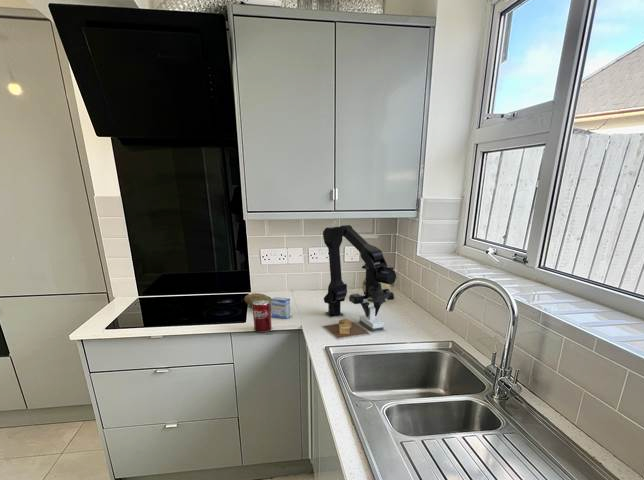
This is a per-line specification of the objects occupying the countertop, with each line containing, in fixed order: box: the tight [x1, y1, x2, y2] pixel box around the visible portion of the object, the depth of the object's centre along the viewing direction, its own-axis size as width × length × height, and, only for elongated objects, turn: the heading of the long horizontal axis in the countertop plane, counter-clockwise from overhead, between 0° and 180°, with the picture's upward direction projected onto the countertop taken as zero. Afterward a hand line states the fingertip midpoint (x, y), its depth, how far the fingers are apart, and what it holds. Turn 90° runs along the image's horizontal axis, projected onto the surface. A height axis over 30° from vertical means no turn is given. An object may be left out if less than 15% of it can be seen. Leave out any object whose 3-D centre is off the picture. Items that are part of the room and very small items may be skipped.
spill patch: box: [323, 321, 370, 339], centre depth 171 cm, size 16×14×1 cm
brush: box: [358, 306, 385, 332], centre depth 173 cm, size 13×5×8 cm, turn 23°
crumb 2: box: [339, 324, 349, 334], centre depth 167 cm, size 4×4×3 cm
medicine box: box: [271, 296, 291, 319], centre depth 187 cm, size 8×4×9 cm, turn 71°
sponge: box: [244, 292, 273, 309], centre depth 200 cm, size 13×8×20 cm
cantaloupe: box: [361, 277, 392, 301], centre depth 211 cm, size 15×15×15 cm
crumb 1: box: [337, 318, 353, 328], centre depth 173 cm, size 4×4×3 cm
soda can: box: [251, 301, 273, 333], centre depth 169 cm, size 7×7×12 cm
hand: (371, 316), depth 173 cm, fingers open, 4 cm apart
